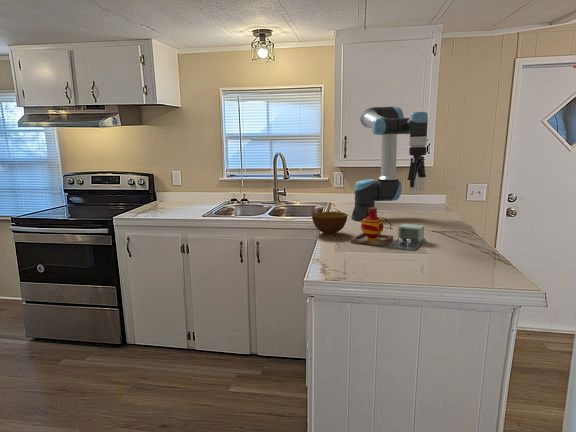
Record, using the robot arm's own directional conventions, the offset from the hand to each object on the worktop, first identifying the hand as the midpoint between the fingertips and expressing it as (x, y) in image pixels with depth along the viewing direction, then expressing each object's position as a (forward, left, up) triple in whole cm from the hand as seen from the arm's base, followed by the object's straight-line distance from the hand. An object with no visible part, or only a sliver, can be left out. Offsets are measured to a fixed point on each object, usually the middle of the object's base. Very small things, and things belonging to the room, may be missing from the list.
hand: (416, 192), depth 190 cm
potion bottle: (-16, -15, -21) cm, 31 cm away
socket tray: (-16, -15, -22) cm, 31 cm away
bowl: (-40, -11, -22) cm, 47 cm away
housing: (0, -8, -20) cm, 22 cm away
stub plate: (0, -13, -22) cm, 25 cm away
